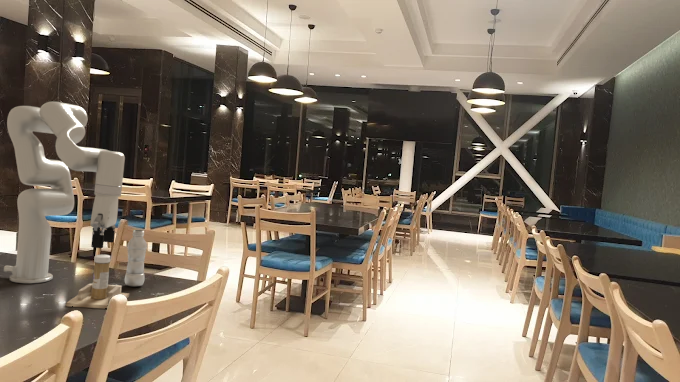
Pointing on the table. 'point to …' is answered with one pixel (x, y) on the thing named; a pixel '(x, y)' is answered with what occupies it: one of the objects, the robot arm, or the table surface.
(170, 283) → the table surface
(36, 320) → the table surface
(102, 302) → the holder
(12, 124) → the robot arm
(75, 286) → the table surface
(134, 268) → the plastic bottle
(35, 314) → the table surface
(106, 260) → the sprinkles bottle
